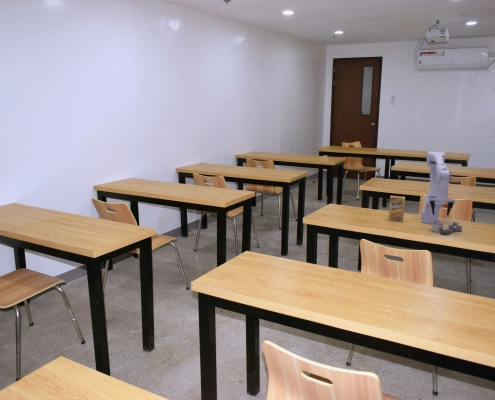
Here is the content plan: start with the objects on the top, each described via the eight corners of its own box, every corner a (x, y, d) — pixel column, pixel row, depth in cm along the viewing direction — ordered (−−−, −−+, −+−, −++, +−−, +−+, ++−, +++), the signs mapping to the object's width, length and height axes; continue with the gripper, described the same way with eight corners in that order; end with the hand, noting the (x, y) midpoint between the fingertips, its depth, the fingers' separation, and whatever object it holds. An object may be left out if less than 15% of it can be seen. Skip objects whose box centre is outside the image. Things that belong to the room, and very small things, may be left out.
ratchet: (436, 233, 247) (437, 225, 246) (451, 227, 259) (452, 219, 258) (449, 236, 242) (450, 227, 241) (463, 230, 254) (464, 222, 253)
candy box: (388, 220, 274) (390, 196, 271) (388, 219, 278) (390, 195, 275) (402, 222, 271) (405, 198, 268) (403, 220, 275) (405, 196, 272)
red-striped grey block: (432, 231, 250) (433, 222, 249) (431, 229, 255) (432, 220, 254) (442, 232, 249) (443, 223, 248) (441, 230, 254) (442, 221, 253)
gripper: (429, 191, 246) (427, 215, 248) (457, 192, 242) (455, 216, 244) (428, 189, 252) (426, 213, 254) (455, 191, 249) (453, 214, 251)
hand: (440, 214), depth 250 cm, fingers open, 7 cm apart
